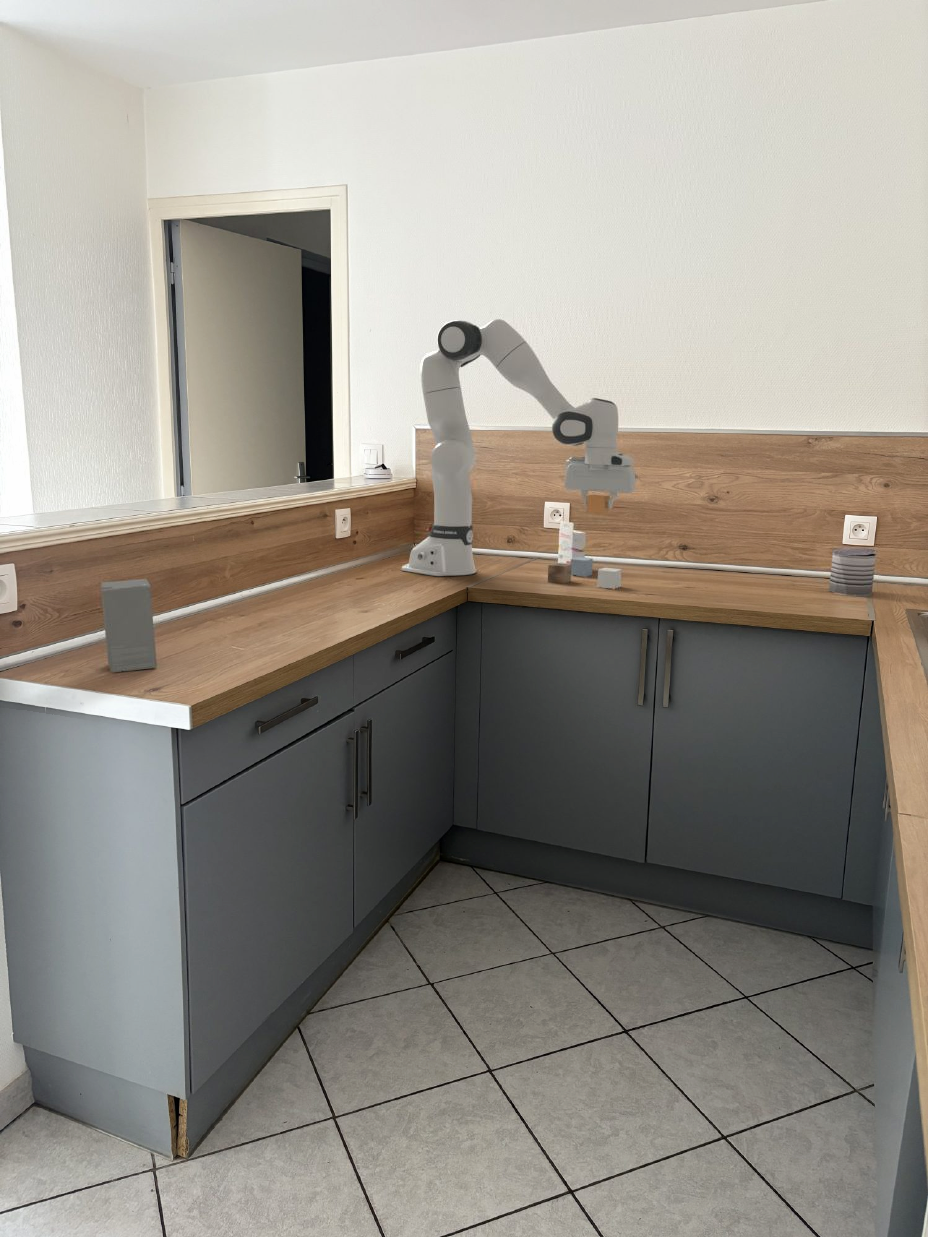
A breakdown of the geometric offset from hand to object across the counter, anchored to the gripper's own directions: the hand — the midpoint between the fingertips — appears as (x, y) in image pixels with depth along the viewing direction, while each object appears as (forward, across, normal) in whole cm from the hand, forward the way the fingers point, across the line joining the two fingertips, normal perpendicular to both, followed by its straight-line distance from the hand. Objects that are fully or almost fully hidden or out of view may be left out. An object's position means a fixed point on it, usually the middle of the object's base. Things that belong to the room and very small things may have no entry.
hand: (598, 507), depth 265 cm
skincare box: (+21, -37, -136) cm, 143 cm away
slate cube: (+21, -7, +7) cm, 23 cm away
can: (+21, +66, +24) cm, 73 cm away
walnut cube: (+21, -8, -7) cm, 24 cm away
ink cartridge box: (+21, -14, +16) cm, 30 cm away
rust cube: (+2, 0, 0) cm, 2 cm away
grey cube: (+21, +7, -7) cm, 23 cm away
